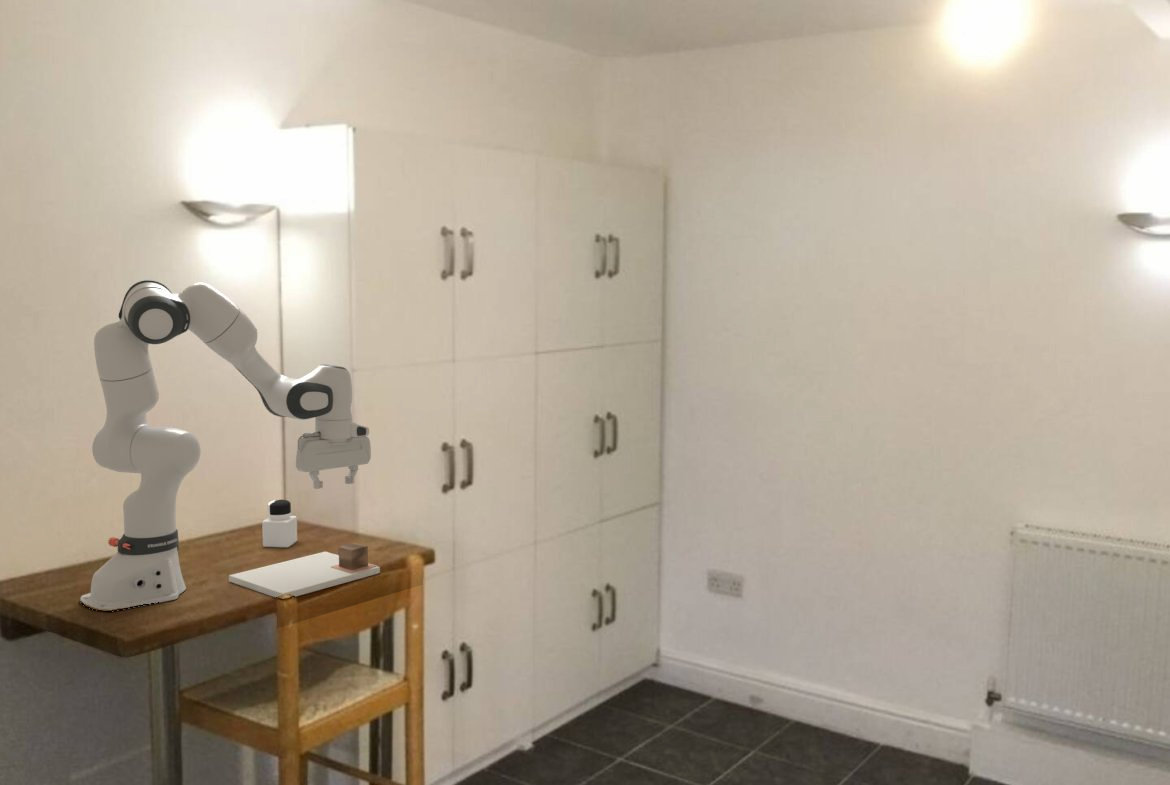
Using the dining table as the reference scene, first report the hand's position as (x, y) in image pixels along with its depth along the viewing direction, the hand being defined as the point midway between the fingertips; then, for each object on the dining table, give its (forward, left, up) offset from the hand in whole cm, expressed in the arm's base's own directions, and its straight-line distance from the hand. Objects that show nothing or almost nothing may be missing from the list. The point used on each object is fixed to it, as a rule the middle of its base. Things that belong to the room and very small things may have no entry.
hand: (334, 485), depth 263 cm
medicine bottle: (+6, +32, -22) cm, 39 cm away
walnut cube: (+2, -5, -20) cm, 20 cm away
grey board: (-8, +1, -21) cm, 23 cm away
